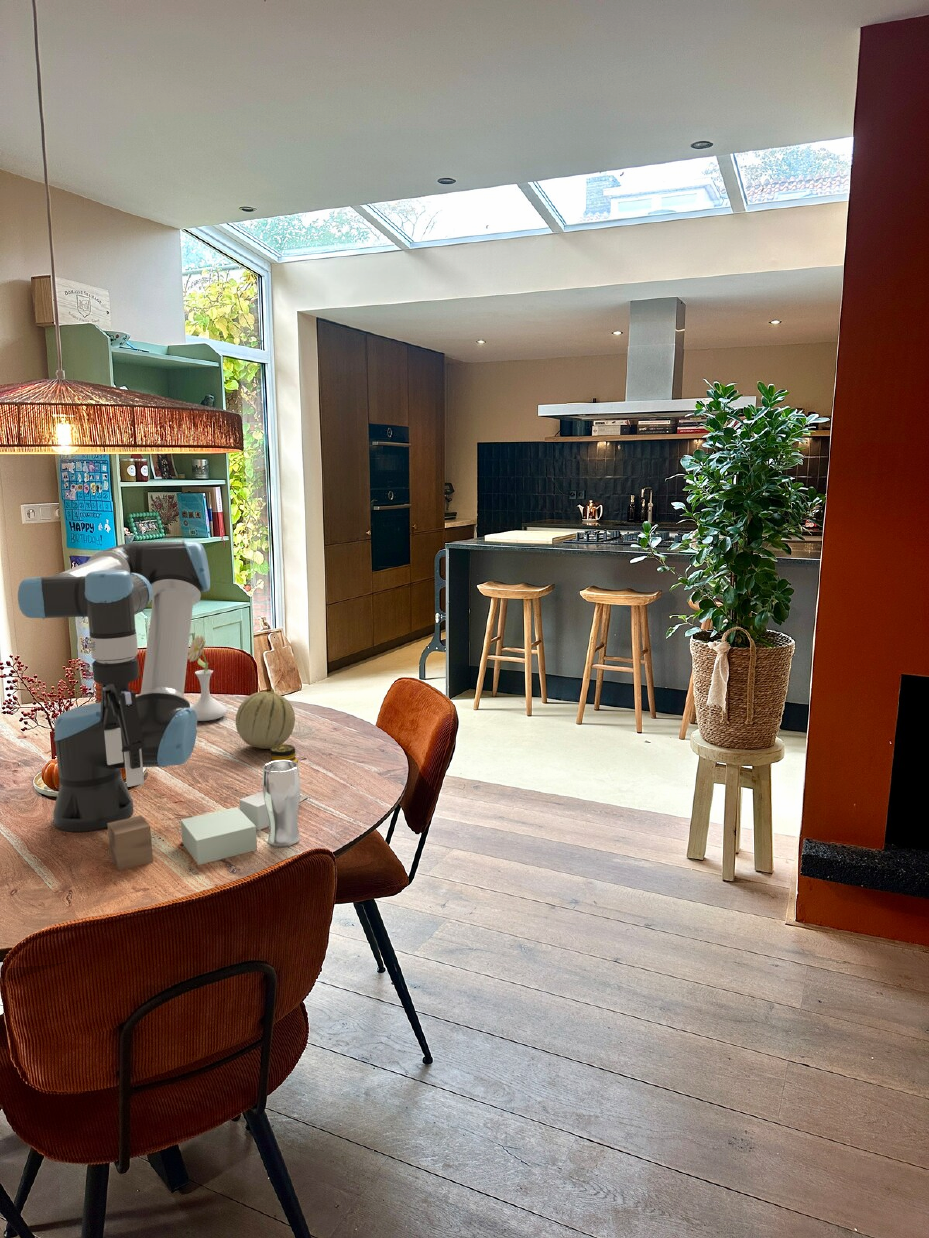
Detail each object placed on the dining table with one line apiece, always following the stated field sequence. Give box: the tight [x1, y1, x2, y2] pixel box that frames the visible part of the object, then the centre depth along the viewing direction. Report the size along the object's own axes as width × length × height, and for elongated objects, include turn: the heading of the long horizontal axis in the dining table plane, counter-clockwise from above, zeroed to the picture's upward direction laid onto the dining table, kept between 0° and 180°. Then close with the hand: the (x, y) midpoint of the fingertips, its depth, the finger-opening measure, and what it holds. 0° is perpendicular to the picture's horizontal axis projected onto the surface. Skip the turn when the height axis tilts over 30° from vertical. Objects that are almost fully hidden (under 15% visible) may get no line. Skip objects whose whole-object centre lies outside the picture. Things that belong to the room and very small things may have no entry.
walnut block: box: [107, 815, 154, 872], centre depth 154 cm, size 6×6×7 cm
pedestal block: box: [180, 806, 258, 866], centre depth 159 cm, size 11×11×5 cm
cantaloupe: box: [235, 688, 296, 750], centre depth 215 cm, size 15×15×15 cm
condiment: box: [268, 743, 309, 803], centre depth 181 cm, size 7×8×12 cm
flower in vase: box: [187, 634, 228, 722], centre depth 239 cm, size 13×11×25 cm
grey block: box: [239, 790, 270, 831], centre depth 171 cm, size 6×6×5 cm
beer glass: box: [262, 760, 301, 848], centre depth 161 cm, size 7×7×15 cm
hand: (125, 773), depth 152 cm, fingers open, 13 cm apart
